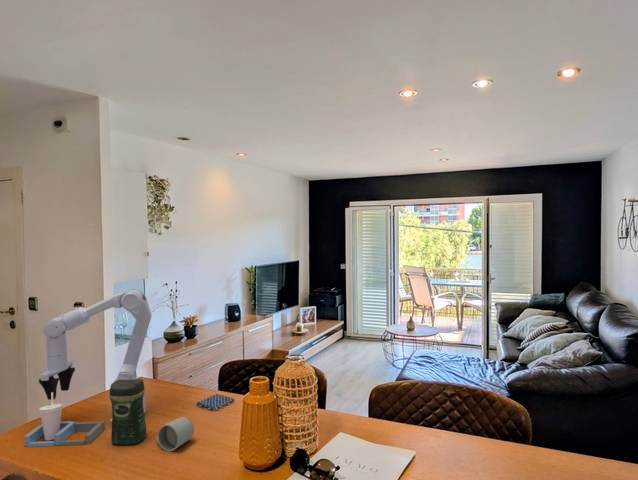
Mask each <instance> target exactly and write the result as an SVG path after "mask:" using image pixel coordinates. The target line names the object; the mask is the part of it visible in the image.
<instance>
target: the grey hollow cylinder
mask: <svg viewBox="0 0 638 480" xmlns="http://www.w3.org/2000/svg"><path fill="white" fill-rule="evenodd" d="M194 428H195V426H194V423H193V422H192V420H191V419H190V418H188V417H186V416H181V417H178V418H175V419H174V420H172V421H170V422H167V423H165V424H163V425H161V427H160V428H159V429H158V433H157V438H156V443H157V445H160V447H161V448H162V449H163V450H164V451H166V452H173V451H175V450H176V449H177V448H180V447H181V446H182V445H184V444H185V443H186V442H188V441H189V440H190V439H191V438H192V437H193V436H194V431H195V429H194Z"/></svg>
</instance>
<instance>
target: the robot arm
mask: <svg viewBox="0 0 638 480" xmlns="http://www.w3.org/2000/svg"><path fill="white" fill-rule="evenodd" d="M111 308H116V309H121V308H123V309H124V310H125V311H127V312H129V313H131V315H132V317H133V318H134V319H135V322H134V326H133V329H132V332H131V335H130V339H129V343H128V346H127V349H126V352H125V355H124V359H123V362H122V365H121V368H120V370H119V373H118V375H117V377H116V378H115V379H114V380H113V383H114V382H115V381H117V380H137V378H138V376H137V368H138V363H139V360H140V358H141V357H140V356H141V353H142V349H143V345H144V343H145V339H146V336H147V332H148V331H149V330H148V329H149V327H150V323H151V319H152V311H151V309H150V305H149V303H148V298H147V296H146V295H145V294H144V292H143V291H142V290H140V289H138V288H131V289H129V290H127V291H122V292H120V293H116V294H114V295H112V296H109V297H107V298H105V299H102V300H101V301H99V302H97V303H95V304H93V305H91V306H89V307H83V306H79V307H77V306H75V307H72V309H71V310H70V311H68V312H66V313H60V314H58V315H57V317H54V318H51V319H50V320H48V321H47V322H45V324H44V325H43V328H42V331H43V334H44V335H45V338H46V342H45V343H46V365H47V366H46V367H44V368H43V371H44V372H43V373H41V374H40V378H39V379H38V383H39V384H40V385H41V387H42V388H43V390H44V392H45V393H44V394H46V398H47V400H48V401H49V400H50V401H51V392H53V401H54V400H56V397H57V388H58V384H59V386H60V390H61V392H65V391H67V392H68V391H69V390H70V385H71V381H72V377H73V375H74V373H75V371H76V367H73V360H68V350H67V349H68V348H67V331H71V330H73V329H75V328H78V327H80V326H82V325H84V324H87V323H88V322H89V321H90V319H91V317H92V316H95V315H97V314H99V313H103V312H104V311H107V310H110V309H111ZM56 375H57V376H58V377H57V378H56V377H54V376H56ZM143 409H144V414H146V412H147V409H146V394H145V392H144V395H143ZM109 422H111V423H112V418H111V419H110V420H109Z"/></svg>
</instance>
